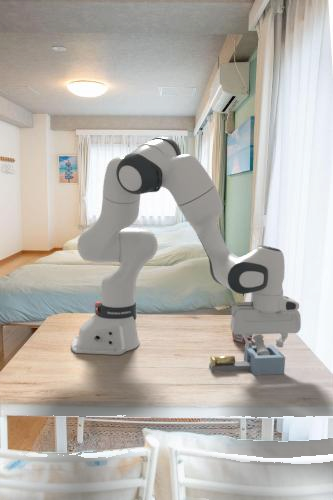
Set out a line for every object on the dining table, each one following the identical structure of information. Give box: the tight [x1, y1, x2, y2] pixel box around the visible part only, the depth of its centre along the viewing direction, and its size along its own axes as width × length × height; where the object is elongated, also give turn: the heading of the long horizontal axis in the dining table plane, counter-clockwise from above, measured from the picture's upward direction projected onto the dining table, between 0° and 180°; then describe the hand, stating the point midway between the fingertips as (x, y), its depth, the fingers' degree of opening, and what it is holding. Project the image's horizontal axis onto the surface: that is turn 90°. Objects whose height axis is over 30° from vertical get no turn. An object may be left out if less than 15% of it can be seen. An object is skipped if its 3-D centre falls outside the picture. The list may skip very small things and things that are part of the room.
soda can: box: [231, 305, 254, 344], centre depth 138 cm, size 7×7×12 cm
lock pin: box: [209, 355, 236, 366], centre depth 115 cm, size 7×3×2 cm, turn 97°
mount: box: [208, 344, 286, 376], centre depth 116 cm, size 20×9×5 cm, turn 97°
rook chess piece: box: [252, 334, 270, 356], centre depth 118 cm, size 4×4×8 cm
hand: (264, 347), depth 117 cm, fingers open, 8 cm apart
